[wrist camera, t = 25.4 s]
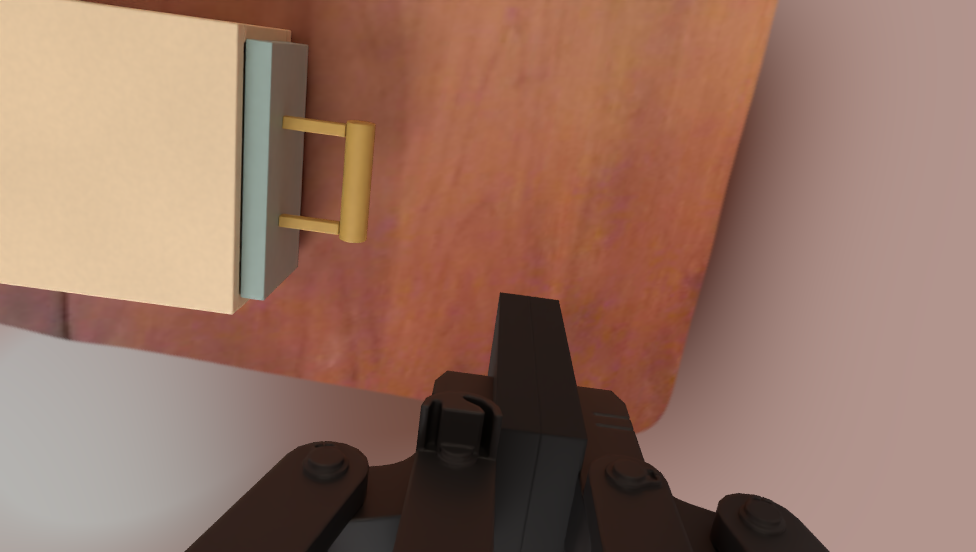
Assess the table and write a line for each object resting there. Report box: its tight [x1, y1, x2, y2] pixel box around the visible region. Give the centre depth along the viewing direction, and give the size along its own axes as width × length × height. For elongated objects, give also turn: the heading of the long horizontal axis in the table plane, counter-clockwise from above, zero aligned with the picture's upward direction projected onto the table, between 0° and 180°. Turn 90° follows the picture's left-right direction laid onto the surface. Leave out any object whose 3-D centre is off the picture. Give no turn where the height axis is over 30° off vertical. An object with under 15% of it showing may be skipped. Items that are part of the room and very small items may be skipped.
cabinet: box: [0, 0, 291, 314], centre depth 35 cm, size 16×14×8 cm
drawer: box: [239, 39, 376, 300], centre depth 35 cm, size 19×12×6 cm, turn 82°
